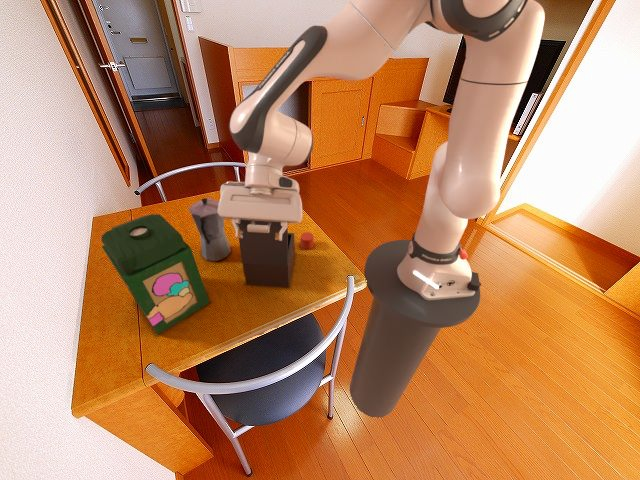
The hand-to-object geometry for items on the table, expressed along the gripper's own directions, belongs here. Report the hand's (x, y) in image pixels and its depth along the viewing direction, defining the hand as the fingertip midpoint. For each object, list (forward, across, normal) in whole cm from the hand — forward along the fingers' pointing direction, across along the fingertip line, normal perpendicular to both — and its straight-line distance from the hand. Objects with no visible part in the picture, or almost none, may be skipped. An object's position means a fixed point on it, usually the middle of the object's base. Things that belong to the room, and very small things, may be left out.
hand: (258, 239), depth 66 cm
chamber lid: (-1, 0, +5) cm, 5 cm away
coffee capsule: (-1, +10, +30) cm, 31 cm away
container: (+18, -24, +11) cm, 32 cm away
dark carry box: (+7, 0, +21) cm, 22 cm away
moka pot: (+4, -19, +25) cm, 32 cm away
